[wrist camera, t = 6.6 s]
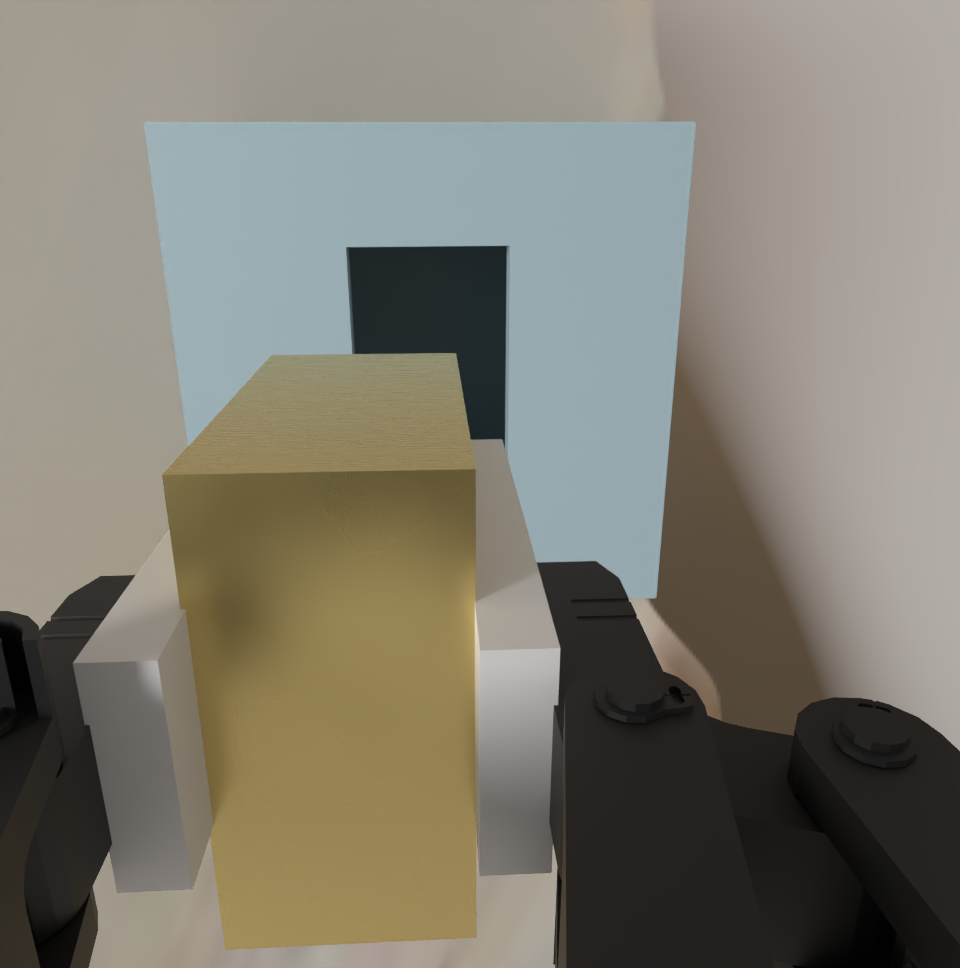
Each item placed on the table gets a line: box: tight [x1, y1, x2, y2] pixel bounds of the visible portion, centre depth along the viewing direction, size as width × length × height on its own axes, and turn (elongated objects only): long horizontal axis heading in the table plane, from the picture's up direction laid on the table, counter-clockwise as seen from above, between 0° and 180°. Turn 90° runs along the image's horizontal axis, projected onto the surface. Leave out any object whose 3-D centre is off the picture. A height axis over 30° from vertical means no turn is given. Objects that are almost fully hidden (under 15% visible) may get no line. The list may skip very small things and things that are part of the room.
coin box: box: [144, 122, 696, 599], centre depth 33 cm, size 16×16×12 cm
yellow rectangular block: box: [162, 353, 476, 950], centre depth 12 cm, size 6×3×6 cm, turn 0°
